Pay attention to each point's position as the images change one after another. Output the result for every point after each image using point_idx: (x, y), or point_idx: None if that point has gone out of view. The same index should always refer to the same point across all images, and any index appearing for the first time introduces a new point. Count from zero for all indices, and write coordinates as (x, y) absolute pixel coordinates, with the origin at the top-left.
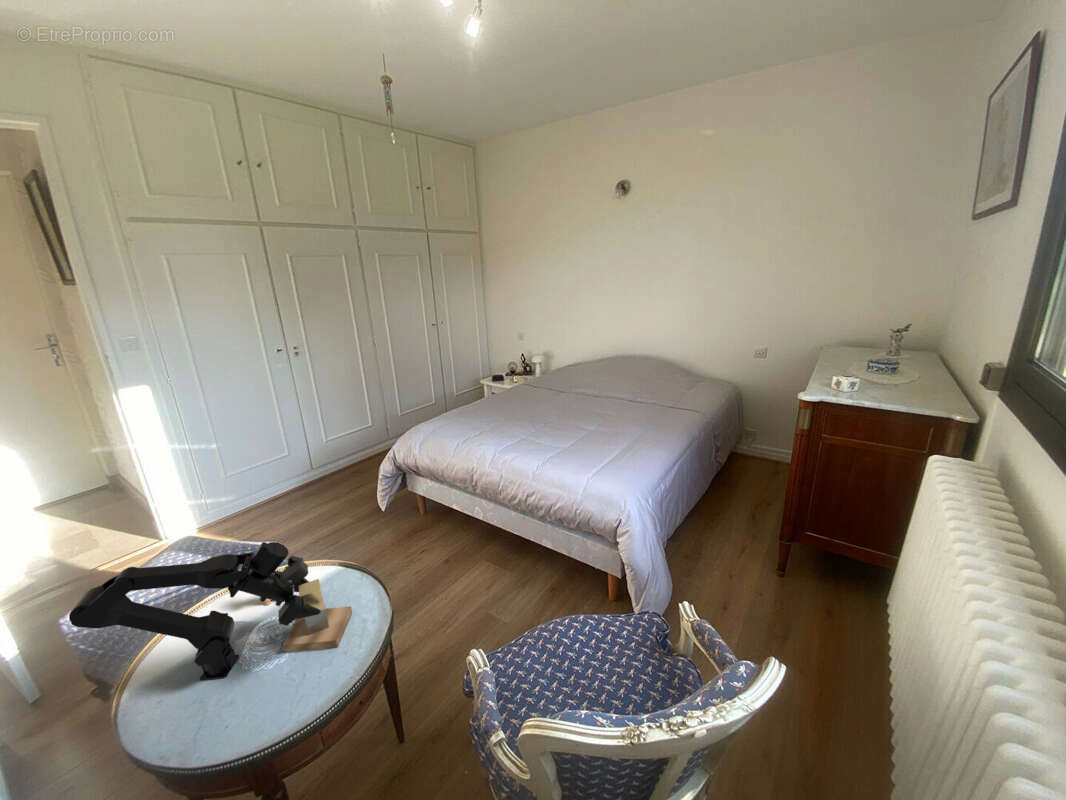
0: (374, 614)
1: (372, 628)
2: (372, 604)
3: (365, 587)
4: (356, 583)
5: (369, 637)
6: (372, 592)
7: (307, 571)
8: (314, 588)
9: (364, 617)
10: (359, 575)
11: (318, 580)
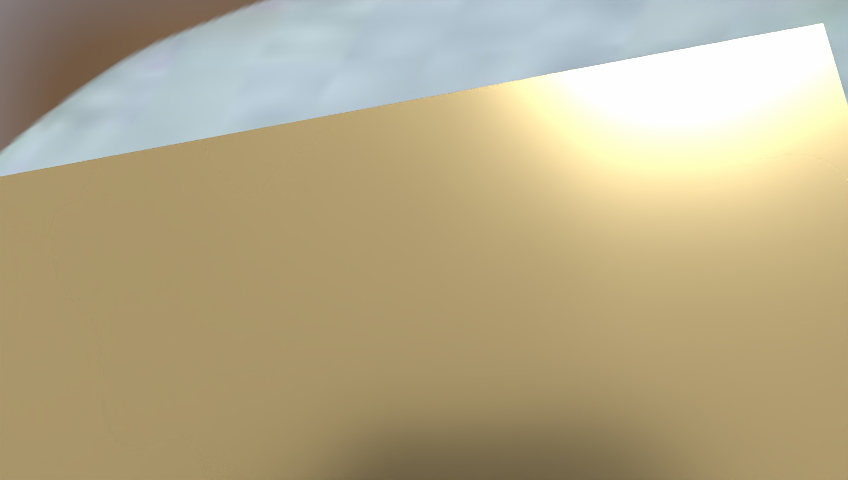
0: (537, 4)
1: (701, 8)
2: (413, 25)
3: (196, 86)
4: (113, 153)
5: (806, 24)
6: (280, 33)
7: None
8: (556, 326)
9: (534, 76)
10: (43, 135)
11: (56, 178)
